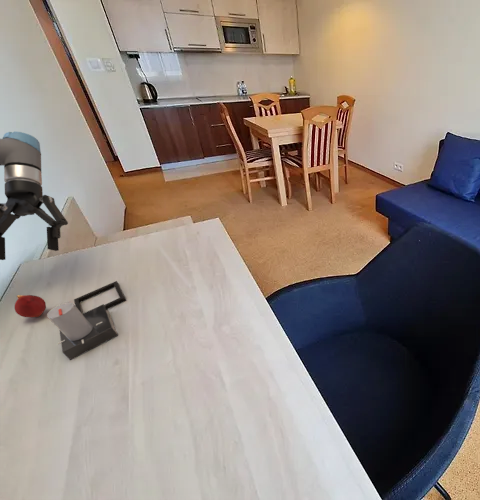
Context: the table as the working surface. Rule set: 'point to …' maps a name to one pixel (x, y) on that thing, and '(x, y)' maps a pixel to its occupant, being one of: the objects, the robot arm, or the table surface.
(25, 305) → the onion
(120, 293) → the frame
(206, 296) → the table surface
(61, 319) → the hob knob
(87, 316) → the panel
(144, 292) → the table surface
